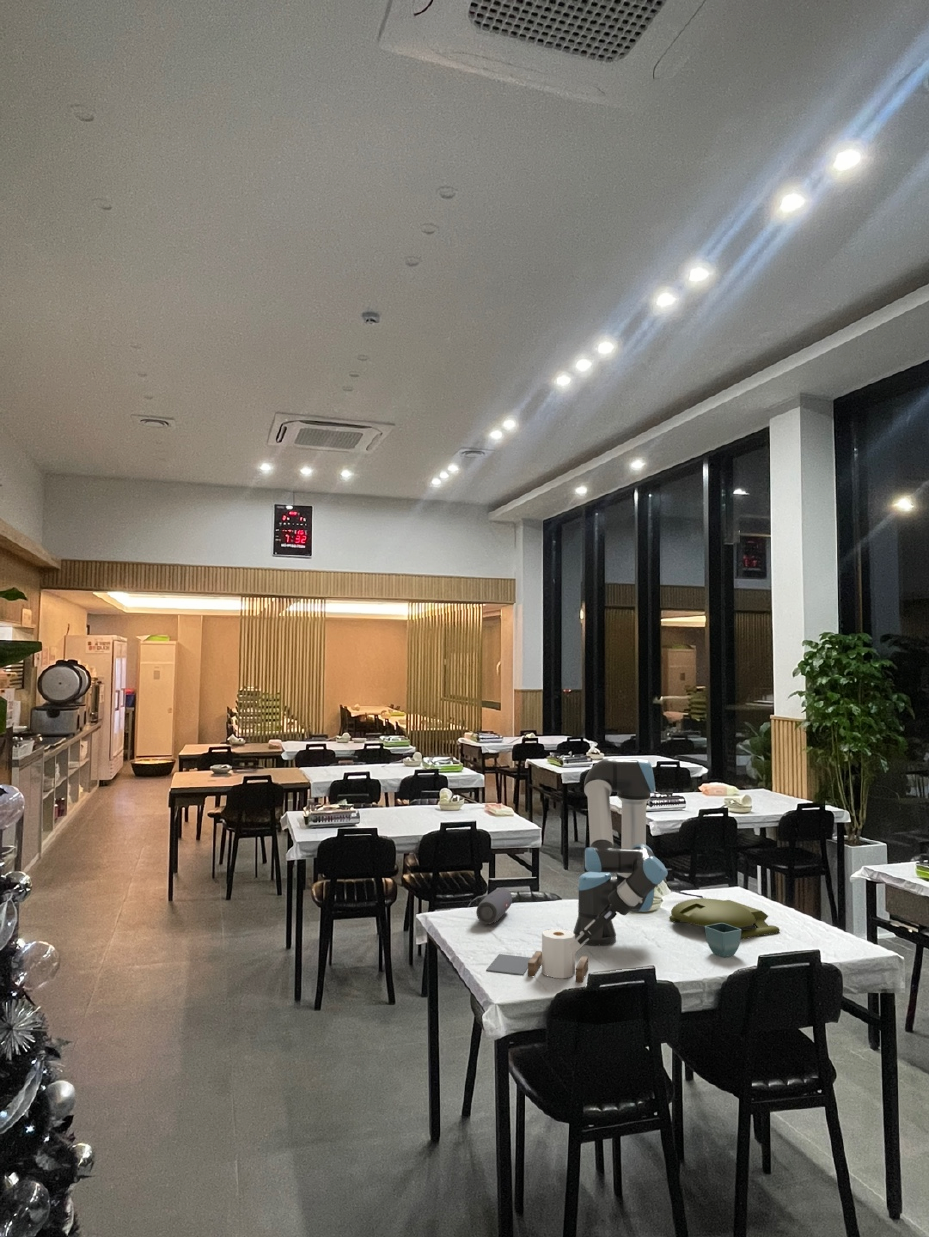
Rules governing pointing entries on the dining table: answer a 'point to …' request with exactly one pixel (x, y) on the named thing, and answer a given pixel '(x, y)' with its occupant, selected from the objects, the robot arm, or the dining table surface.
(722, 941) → the flower pot
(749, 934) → the spaceship
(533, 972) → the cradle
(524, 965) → the mat
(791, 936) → the dining table surface
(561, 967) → the toilet paper
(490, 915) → the bluetooth speaker
